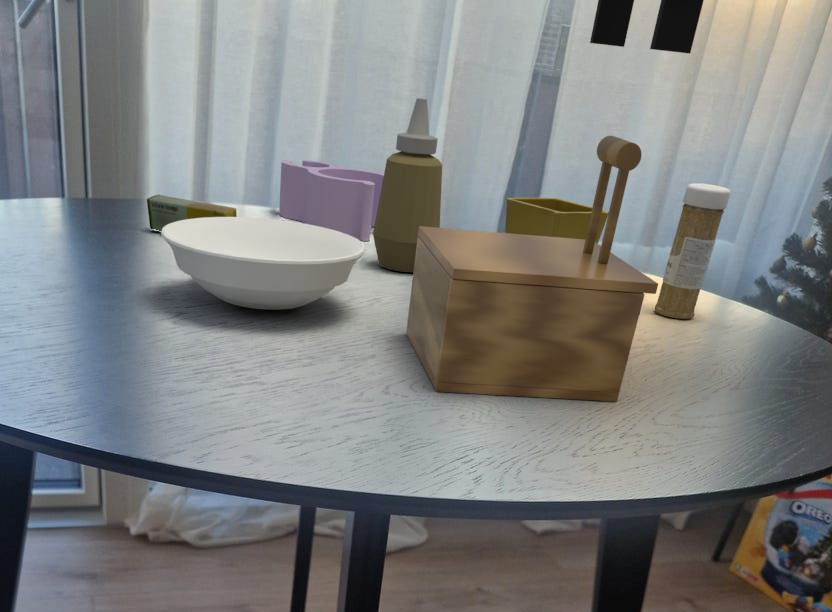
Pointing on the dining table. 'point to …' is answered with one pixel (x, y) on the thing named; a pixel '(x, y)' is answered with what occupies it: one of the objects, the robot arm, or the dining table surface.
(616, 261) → the chest lid
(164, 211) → the medication box
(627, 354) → the chest
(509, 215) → the flower pot
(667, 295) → the sprinkles bottle
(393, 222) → the squeeze bottle
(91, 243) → the dining table surface
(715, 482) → the dining table surface
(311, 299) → the bowl
